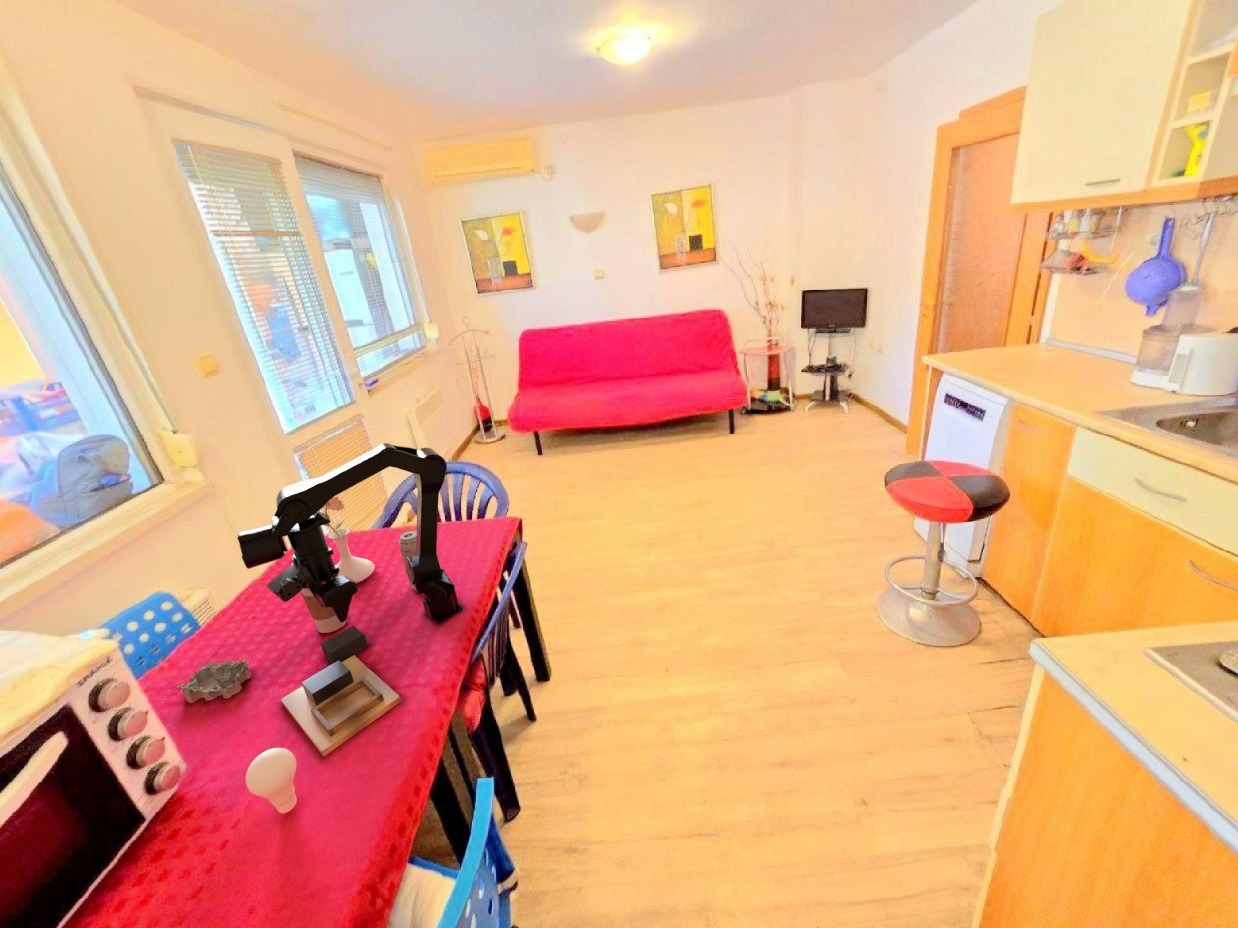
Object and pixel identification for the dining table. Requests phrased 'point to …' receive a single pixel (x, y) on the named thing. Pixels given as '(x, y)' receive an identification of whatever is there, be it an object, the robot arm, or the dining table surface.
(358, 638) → the dark rectangular block
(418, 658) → the dining table surface
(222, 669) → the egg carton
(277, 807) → the lightbulb
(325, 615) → the coffee cup
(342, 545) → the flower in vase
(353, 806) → the dining table surface
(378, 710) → the backing board
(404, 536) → the energy drink can
